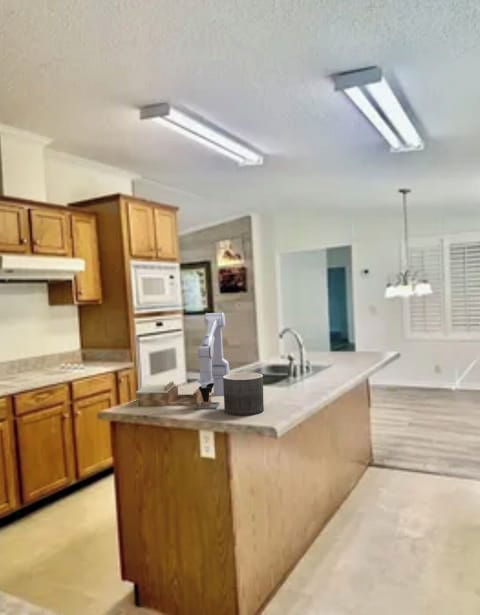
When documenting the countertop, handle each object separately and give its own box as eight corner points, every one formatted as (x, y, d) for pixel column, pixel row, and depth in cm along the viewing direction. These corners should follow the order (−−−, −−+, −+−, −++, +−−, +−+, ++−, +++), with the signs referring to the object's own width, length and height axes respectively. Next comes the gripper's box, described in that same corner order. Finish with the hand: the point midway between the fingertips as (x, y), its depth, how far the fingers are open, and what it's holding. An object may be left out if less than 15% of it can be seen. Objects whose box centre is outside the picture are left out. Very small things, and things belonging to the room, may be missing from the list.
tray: (219, 404, 233) (219, 402, 233) (216, 409, 223) (216, 407, 223) (198, 404, 234) (198, 402, 234) (194, 409, 224) (194, 407, 224)
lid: (175, 385, 252) (175, 380, 252) (166, 393, 233) (166, 388, 233) (147, 385, 253) (146, 381, 253) (135, 393, 235) (135, 388, 235)
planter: (250, 417, 207) (249, 380, 207) (216, 413, 217) (215, 378, 216) (270, 408, 222) (269, 374, 222) (237, 404, 232) (236, 371, 231)
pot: (213, 402, 231) (213, 392, 230) (210, 405, 226) (210, 395, 225) (202, 401, 232) (202, 391, 231) (198, 405, 227) (198, 394, 226)
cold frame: (204, 397, 250) (203, 385, 250) (197, 405, 232) (196, 393, 232) (149, 397, 253) (149, 386, 253) (138, 406, 235) (138, 393, 235)
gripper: (200, 369, 236) (201, 397, 236) (194, 374, 221) (195, 404, 222) (215, 368, 235) (216, 396, 235) (209, 374, 220) (210, 403, 221)
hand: (207, 400), depth 228 cm, fingers closed on pot, 5 cm apart
